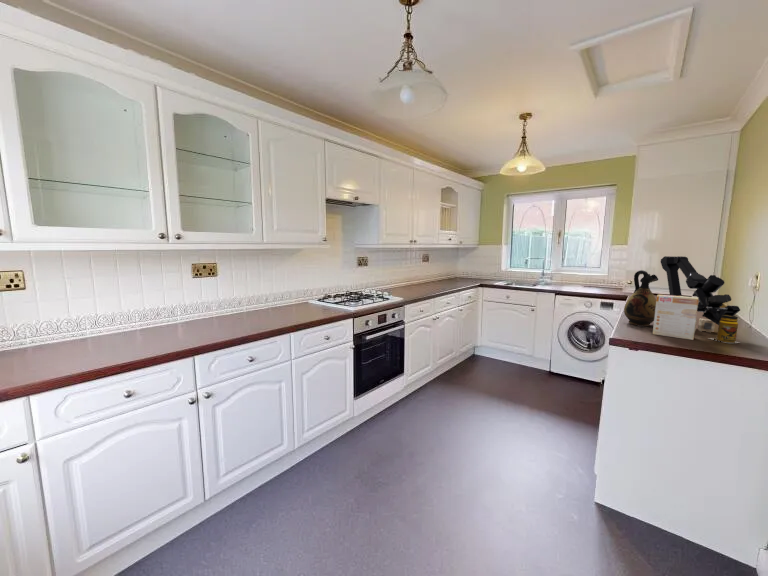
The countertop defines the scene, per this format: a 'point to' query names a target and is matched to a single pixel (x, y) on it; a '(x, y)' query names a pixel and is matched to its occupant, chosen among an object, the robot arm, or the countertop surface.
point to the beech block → (706, 325)
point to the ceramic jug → (641, 301)
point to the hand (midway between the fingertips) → (721, 325)
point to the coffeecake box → (675, 316)
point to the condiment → (727, 329)
